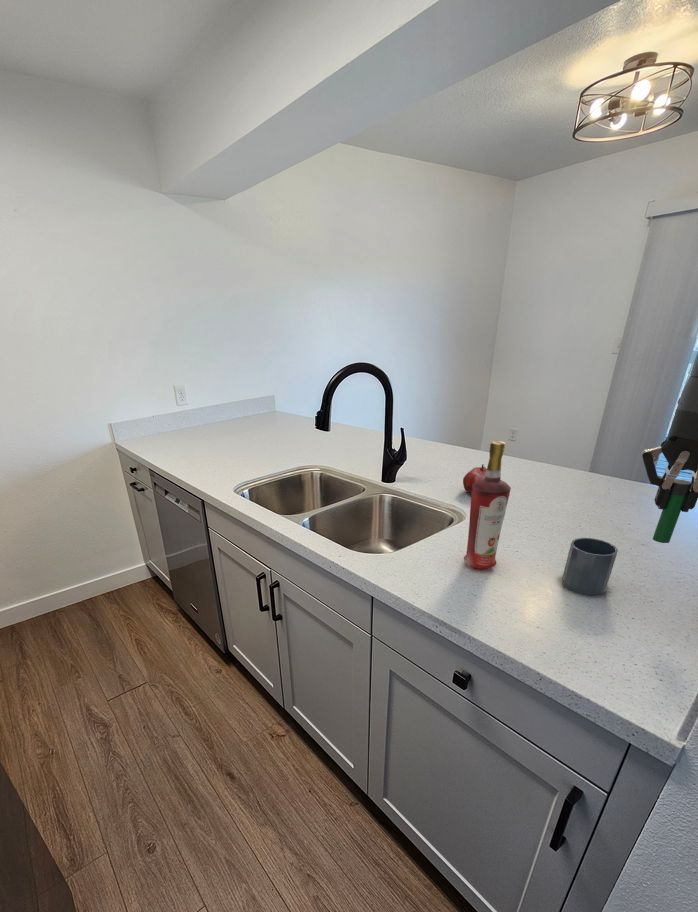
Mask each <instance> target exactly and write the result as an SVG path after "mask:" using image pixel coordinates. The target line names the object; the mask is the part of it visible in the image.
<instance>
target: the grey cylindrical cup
mask: <svg viewBox="0 0 698 912" xmlns="http://www.w3.org/2000/svg"><path fill="white" fill-rule="evenodd" d="M618 551H619V549H618V548H617V546H616V545H614V544H612V543H610V542H608V541H605V540H603V539H599V538H592V537H579V538H578V537H577V538H575V539H573V540H571V543H570V547H569V551H568V554H567V558H566V562H565V566H564V569H563V573H562V577H561V583H562V585H563V586H564V587H565V588H566V589H567V590H570V591H572V592H574V593H575V594H576V593H577V594H580V595H583V596H600V595H603V594H604V593H605V592H606V590H607V587H608V584H609V582H610V581H609V580H610V578H611V574H612V571H613V567H614V565H615V561H616V558H617V555H618Z"/></svg>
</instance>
